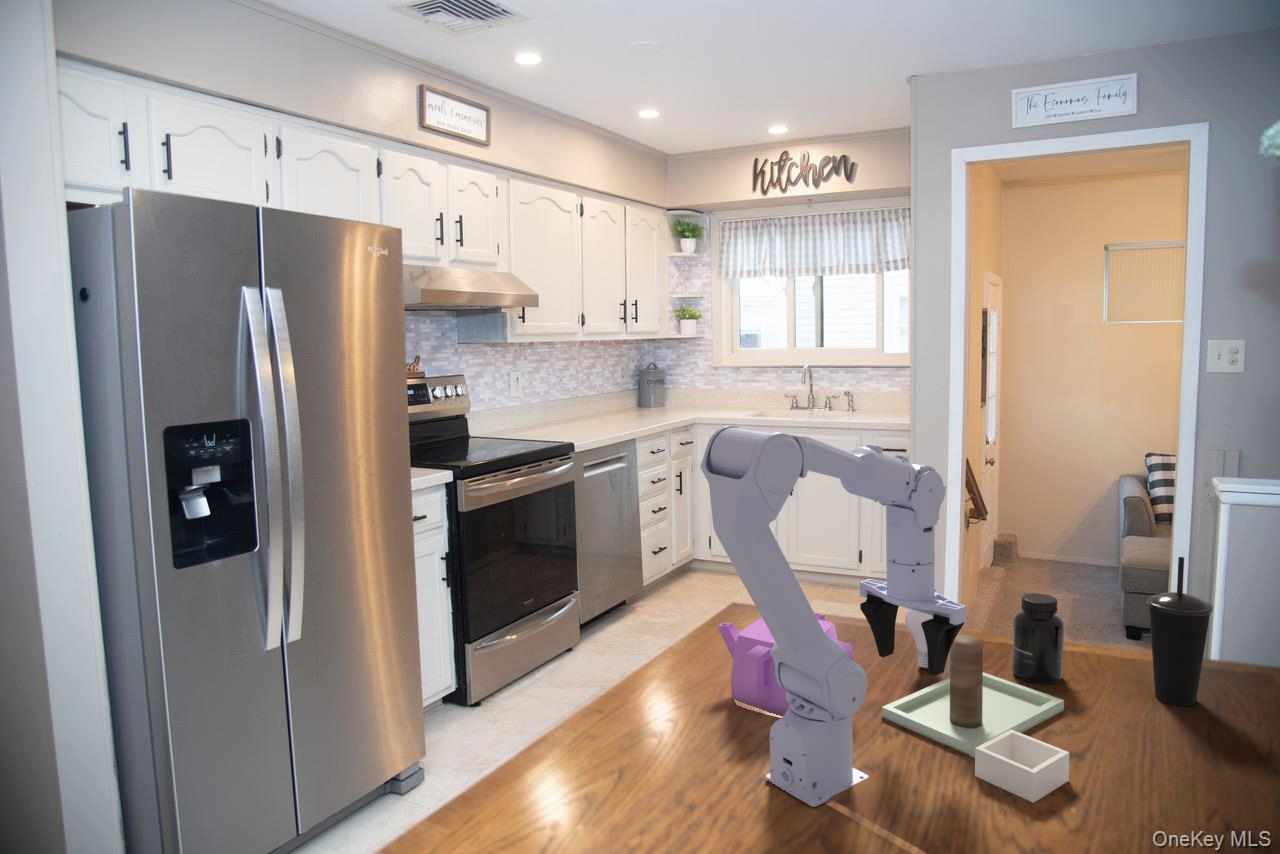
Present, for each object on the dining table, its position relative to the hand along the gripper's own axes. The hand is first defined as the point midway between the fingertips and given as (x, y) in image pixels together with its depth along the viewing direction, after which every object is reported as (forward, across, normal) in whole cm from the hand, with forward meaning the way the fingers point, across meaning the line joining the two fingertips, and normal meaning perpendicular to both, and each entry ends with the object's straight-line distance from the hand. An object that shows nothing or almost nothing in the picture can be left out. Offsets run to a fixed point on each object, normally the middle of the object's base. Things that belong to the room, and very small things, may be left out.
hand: (910, 663), depth 109 cm
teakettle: (+11, +20, +2) cm, 23 cm away
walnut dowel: (+10, -2, -9) cm, 13 cm away
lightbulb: (+11, +13, -21) cm, 27 cm away
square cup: (+10, -14, -2) cm, 18 cm away
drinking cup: (+11, -15, -38) cm, 42 cm away
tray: (+10, -1, -12) cm, 16 cm away
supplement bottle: (+11, +1, -31) cm, 33 cm away
